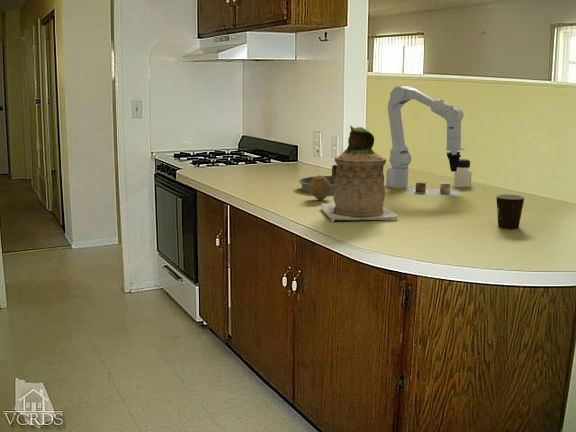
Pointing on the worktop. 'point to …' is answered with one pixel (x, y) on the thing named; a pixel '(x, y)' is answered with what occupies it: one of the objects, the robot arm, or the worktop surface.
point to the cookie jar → (359, 182)
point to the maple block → (444, 187)
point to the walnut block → (421, 187)
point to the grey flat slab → (432, 192)
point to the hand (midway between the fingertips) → (453, 170)
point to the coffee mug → (509, 210)
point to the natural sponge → (320, 187)
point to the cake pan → (306, 181)
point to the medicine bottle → (462, 174)
